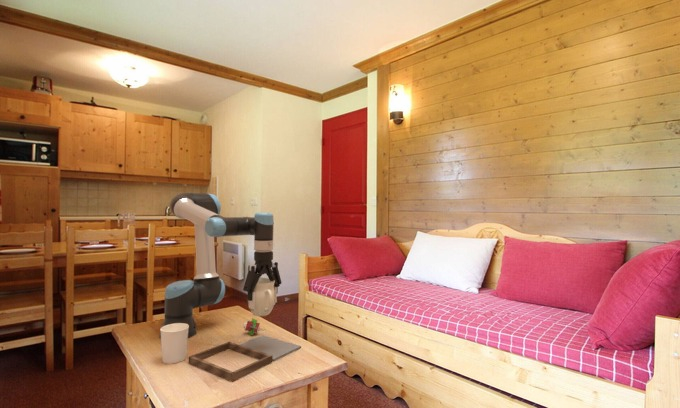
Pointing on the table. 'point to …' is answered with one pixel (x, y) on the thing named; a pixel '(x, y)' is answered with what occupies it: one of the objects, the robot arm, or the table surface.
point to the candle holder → (174, 342)
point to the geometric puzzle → (251, 326)
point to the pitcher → (263, 297)
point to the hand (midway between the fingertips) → (263, 305)
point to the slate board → (271, 346)
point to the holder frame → (224, 373)
